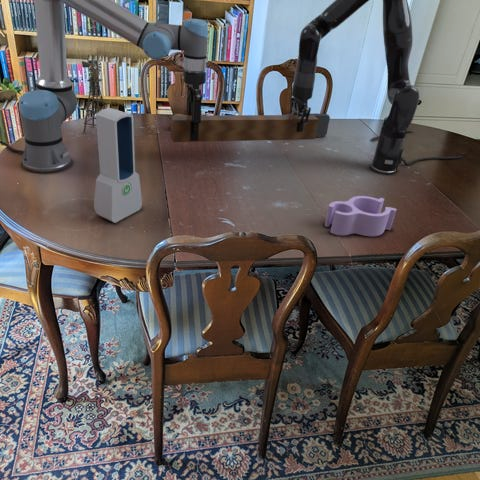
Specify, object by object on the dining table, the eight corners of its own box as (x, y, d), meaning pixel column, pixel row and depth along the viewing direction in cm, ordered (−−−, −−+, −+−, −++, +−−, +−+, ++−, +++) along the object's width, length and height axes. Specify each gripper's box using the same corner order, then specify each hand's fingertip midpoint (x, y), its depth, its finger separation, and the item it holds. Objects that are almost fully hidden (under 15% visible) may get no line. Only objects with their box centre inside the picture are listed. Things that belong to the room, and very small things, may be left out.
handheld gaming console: (323, 134, 210) (328, 113, 204) (326, 137, 208) (331, 115, 202) (276, 136, 203) (280, 113, 197) (279, 138, 201) (282, 115, 195)
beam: (173, 142, 164) (173, 120, 160) (170, 137, 168) (171, 115, 164) (315, 139, 180) (318, 119, 176) (309, 134, 184) (313, 114, 180)
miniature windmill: (102, 136, 185) (96, 56, 168) (82, 132, 186) (74, 53, 169) (112, 128, 192) (107, 52, 176) (92, 125, 193) (86, 49, 177)
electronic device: (112, 224, 131) (106, 120, 115) (93, 216, 134) (84, 113, 118) (143, 208, 140) (140, 109, 124) (124, 200, 143) (119, 103, 127)
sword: (408, 129, 227) (409, 127, 226) (413, 131, 225) (414, 129, 224) (366, 140, 211) (366, 138, 210) (371, 143, 209) (371, 140, 208)
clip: (337, 240, 135) (342, 219, 131) (318, 218, 145) (322, 198, 141) (395, 233, 141) (402, 213, 137) (373, 213, 151) (378, 194, 147)
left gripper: (212, 77, 149) (208, 146, 162) (199, 64, 163) (197, 128, 176) (189, 77, 147) (187, 147, 160) (178, 63, 161) (177, 128, 174)
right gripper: (321, 89, 164) (313, 135, 173) (305, 78, 176) (298, 122, 185) (301, 89, 162) (294, 136, 171) (286, 78, 174) (280, 122, 183)
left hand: (192, 137), depth 168 cm, fingers closed on beam, 5 cm apart
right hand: (296, 128), depth 178 cm, fingers closed on beam, 5 cm apart
